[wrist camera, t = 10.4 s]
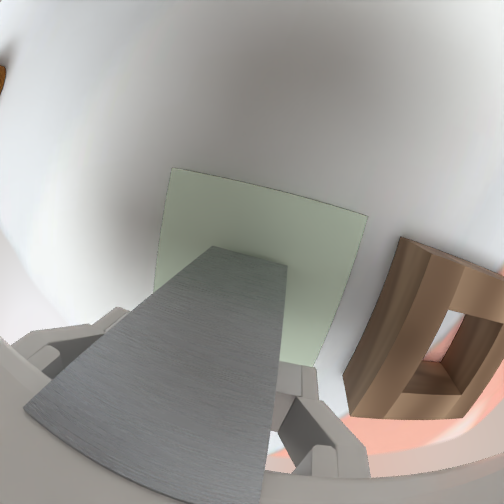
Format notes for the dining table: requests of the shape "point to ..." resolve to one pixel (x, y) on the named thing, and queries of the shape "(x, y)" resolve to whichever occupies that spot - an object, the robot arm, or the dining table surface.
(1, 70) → the disposable coffee cup
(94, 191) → the dining table surface
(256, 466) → the peg
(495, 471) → the robot arm
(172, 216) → the mat
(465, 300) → the socket block
